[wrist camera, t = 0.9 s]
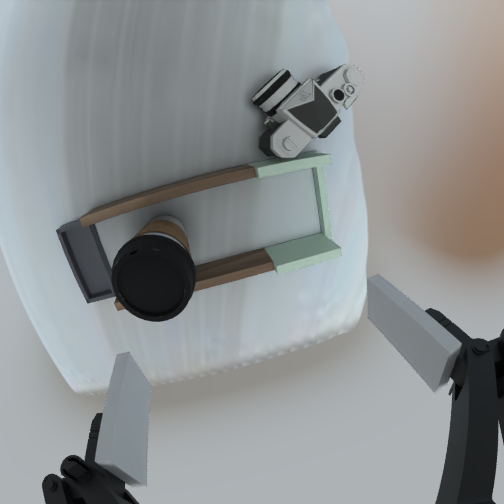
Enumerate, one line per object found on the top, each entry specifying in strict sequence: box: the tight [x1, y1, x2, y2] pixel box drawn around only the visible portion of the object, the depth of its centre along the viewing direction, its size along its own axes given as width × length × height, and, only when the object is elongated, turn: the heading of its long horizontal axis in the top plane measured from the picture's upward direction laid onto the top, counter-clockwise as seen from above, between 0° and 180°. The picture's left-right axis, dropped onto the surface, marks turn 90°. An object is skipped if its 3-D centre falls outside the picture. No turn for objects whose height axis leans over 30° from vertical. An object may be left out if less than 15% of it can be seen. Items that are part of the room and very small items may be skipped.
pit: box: [56, 219, 116, 303], centre depth 35 cm, size 12×6×2 cm, turn 12°
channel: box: [80, 164, 275, 311], centre depth 35 cm, size 13×22×5 cm, turn 102°
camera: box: [252, 64, 364, 158], centre depth 29 cm, size 16×9×10 cm, turn 138°
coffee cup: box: [111, 215, 196, 322], centre depth 30 cm, size 8×8×15 cm
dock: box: [248, 151, 342, 275], centre depth 36 cm, size 13×10×6 cm
